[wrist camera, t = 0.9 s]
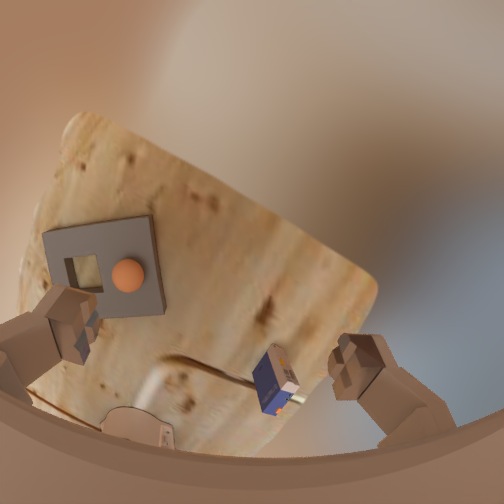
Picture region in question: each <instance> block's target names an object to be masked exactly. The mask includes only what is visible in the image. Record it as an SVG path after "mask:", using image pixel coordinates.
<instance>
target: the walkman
mask: <svg viewBox="0 0 504 504" xmlns="http://www.w3.org/2000/svg"><path fill="white" fill-rule="evenodd" d="M252 374H253V378H254V382H255V386H256V390H257V394H258V398H259V402H260V406H261V409H262V413H266V414H270V415H274V416H276V415H277V414H278V413H279V412H280V411H281V410H282V408H283V407H284V405H285V404H286V403H287V402H288V401H289V399H290V398H291V397H292V396H293V394H294V393H295V392H296V391H297V389H298V388H299V387H300V385H299V383H298V381H297V378H296V376H295V374H294V372H293V370H292V367H291V365H290V363H289V361H288V359H287V356H286V354H285V352H284V350H283V349H282V348H280V347H278V346H277V345H275V344H271V346H270V347H269V349H268V350H267V352H266V353H265V355H264V356H263V358H262V359H261V361H260V362H259V364H258V365H257V367H256V368H255V369H254V371H253V372H252Z"/></svg>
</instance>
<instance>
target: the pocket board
mask: <svg viewBox="0 0 504 504" xmlns="http://www.w3.org/2000/svg"><path fill="white" fill-rule="evenodd" d="M42 237H43V243H44V248H45V253H46V258H47V263H48V267H49V271H50V276H51V280H52V284H53V285H54V284H61V285H64V286H67V287H72V288H75V289H79V288H78V284H77V279H76V275H75V271H74V266H73V261H72V257H79V256H87V255H96V257H97V262H98V267H99V272H100V277H101V281H102V286H103V287H94V288H82V289H79V290H82V291H86V292H90V293H93V294H95V295H96V298H97V303H98V304H97V306H96V308H95V310H96V311H97V312H98V314H99V318H100V319H107V318H124V317H140V316H153V315H164V314H165V311H166V307H167V306H166V301H165V296H164V291H163V285H162V279H161V273H160V267H159V261H158V255H157V248H156V241H155V234H154V226H153V218H152V215H145V216H138V217H130V218H123V219H116V220H109V221H102V222H96V223H89V224H83V225H77V226H71V227H65V228H59V229H53V230H49V231H46V232H44V233H42ZM124 259H131V260H134V261H136V262H137V263H139V264H140V266H141V267H142V269H143V272H144V280H143V283H142V285H141V286H140V288H139V289H137V290H136V291H134V292H130V293H127V292H123V291H120V290H119V289H118V288H117V287H116V286H115V285H114V283H113V280H112V271H113V268H114V266H115V265H116V264H117V263H118V262H119V261H121V260H124Z"/></svg>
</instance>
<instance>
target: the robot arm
mask: <svg viewBox="0 0 504 504" xmlns="http://www.w3.org/2000/svg"><path fill="white" fill-rule="evenodd" d="M97 304H98V303H97V298H96V295H95V294H93V293H90V292H86V291H82V290H79V289H75V288H72V287H67V286H64V285H61V284H54V285H53V286H52V287H51V288H50V290H49V291H48V292H47V293H46V295H45V296H44V297H43V298H42V300H41V301H40V302H39V304H38V305H37V306H36V308H35V309H34V310H33V312H32V313H31V312H26V313H24V314H22V315H20V316H18V317H15V318H13V319H11V320H9V321H7V322H5V323H3V324H1V325H0V504H504V408H503V409H501V410H499V411H497V412H495V413H493V414H490V415H488V416H486V417H483V418H481V419H479V420H476V421H473V422H471V423H468V424H466V425H463V426H460V427H457V426H456V424H455V422H454V420H453V418H452V415H451V413H450V411H449V409H448V407H447V405H446V403H445V401H443V400H442V399H441V398H440V397H438V396H437V395H436V394H435V393H433V392H432V391H431V390H430V389H428V388H427V387H426V386H425V385H423V384H422V383H421V382H420V381H418V380H417V379H416V378H415V377H413V376H412V375H411V374H410V373H408V372H407V371H406V370H405V369H403V368H402V367H398V365H397V363H396V361H395V359H394V357H393V355H392V353H391V351H390V349H389V347H388V345H387V343H386V341H385V339H384V338H383V336H381V335H377V334H376V335H375V334H368V335H367V334H352V333H343V334H342V335H341V336H340V337H339V339H338V344H339V346H338V347H336V348H335V349H333V350H332V352H331V354H330V356H329V359H328V372H329V375H330V376H331V377H332V378H333V379H334V380H335V381H334V383H333V385H332V386H333V390H334V393H335V397H336V400H358V401H357V402H358V403H359V404H360V405H361V406H362V407H363V409H364V410H365V411H366V412H367V413H368V414H369V415H370V416H371V418H372V419H373V420H374V421H375V422H376V423H377V424H378V426H379V427H380V428H381V429H382V430H383V431H384V432H385V434H386V435H387V436H386V437H385V438H384V439H383V440H382V441H380V442H379V444H378V445H377V446H378V448H377V449H372V450H366V451H359V452H353V453H345V454H336V455H326V456H313V457H296V458H253V457H233V456H220V455H210V454H201V453H193V452H186V451H180V450H175V443H174V432H173V426H172V425H170V424H167V423H165V422H162V421H159V420H158V419H156V418H155V417H154V416H152V415H150V414H148V413H146V412H144V411H141V410H138V409H134V408H128V407H121V408H116V409H113V410H111V411H110V412H109V413H108V414H107V416H106V419H105V420H104V421H102V422H101V423H100V428H101V430H102V432H98V431H95V430H92V429H89V428H86V427H83V426H80V425H78V424H75V423H72V422H69V421H67V420H64V419H62V418H59V417H57V416H54V415H52V414H49V413H47V412H45V411H42V410H40V409H38V408H36V407H34V406H32V404H33V401H32V399H31V397H30V395H29V394H28V392H27V391H26V389H25V388H26V387H27V386H28V385H30V384H31V383H32V382H34V381H35V380H36V379H38V378H39V377H40V376H42V375H43V374H44V373H46V372H47V371H48V370H50V369H51V368H52V367H54V366H55V365H56V364H58V363H59V362H60V361H62V360H61V359H63V360H66V361H69V362H73V363H76V364H79V365H83V366H84V364H85V362H86V359H87V357H88V355H89V353H90V347H89V344H91V343H93V342H95V340H96V338H97V336H98V332H99V328H100V318H99V314H98V312H97V311H96V310H95V308H96V306H97Z"/></svg>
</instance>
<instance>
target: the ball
mask: <svg viewBox="0 0 504 504" xmlns="http://www.w3.org/2000/svg"><path fill="white" fill-rule="evenodd" d="M112 280H113V283H114V285H115V286H116V287H117V288H118V289H119V290H120V291H123V292H127V293H130V292H134V291H136V290H137V289H139V288H140V286H141V285H142V283H143V280H144V272H143V269H142V267H141V266H140V264H139V263H137V262H136V261H134V260H131V259H124V260H121V261H119V262H118V263H117V264H116V265H115V266H114V268H113V271H112Z"/></svg>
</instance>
